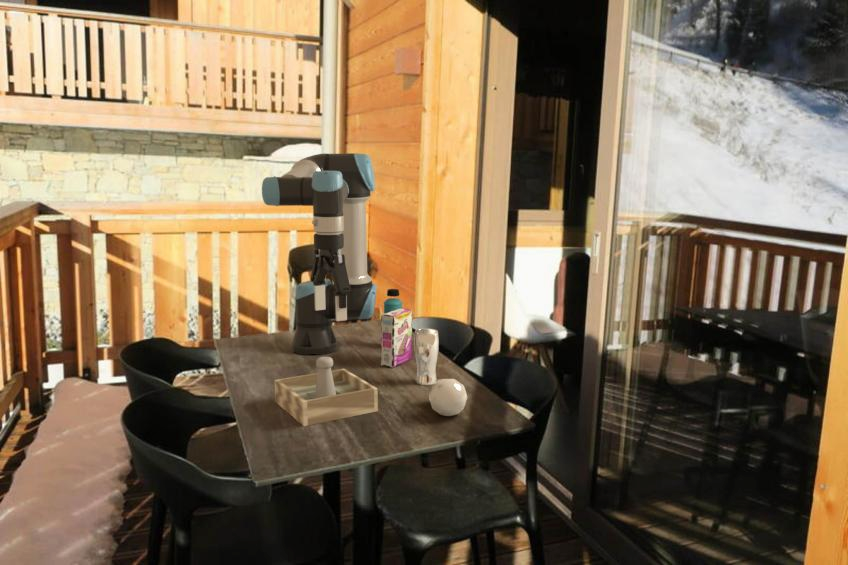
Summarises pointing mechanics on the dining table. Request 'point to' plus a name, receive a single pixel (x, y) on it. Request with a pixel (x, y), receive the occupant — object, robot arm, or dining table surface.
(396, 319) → the candy bar box
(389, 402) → the dining table surface
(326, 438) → the dining table surface
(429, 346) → the beer glass
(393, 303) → the beverage bottle
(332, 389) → the salt shaker
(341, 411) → the insert box
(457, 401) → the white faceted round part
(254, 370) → the dining table surface
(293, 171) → the robot arm
